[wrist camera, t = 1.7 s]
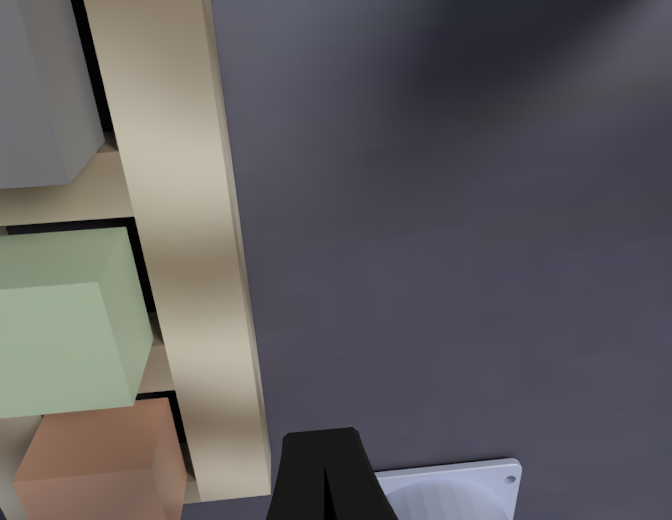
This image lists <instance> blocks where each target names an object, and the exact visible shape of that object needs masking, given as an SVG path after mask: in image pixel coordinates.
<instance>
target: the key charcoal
mask: <svg viewBox="0 0 672 520" xmlns="http://www.w3.org/2000/svg"><path fill="white" fill-rule="evenodd" d="M104 142H105V139H104V135H103V131H102V127H101V123H100V119H99V115H98V110H97V106H96V102H95V98H94V94H93V90H92V86H91V82H90V78H89V74H88V70H87V66H86V62H85V57H84V53H83V49H82V45H81V41H80V37H79V33H78V29H77V25H76V21H75V17H74V13H73V9H72V4H71V0H0V189H5V188H20V187H34V186H49V185H64V184H70V183H71V182H72V180H73V179H74V178H75V177H76V176H77V174H78V173H79V172H80V171H81V170H82V168H83V167H84V166H85V165H86V164H87V162H88V161H89V160H90V159H91V158H92V156H93V155H94V154H95V153H96V152H97V150H98V149H99V148H100V147H101V146H102V144H103V143H104Z"/></svg>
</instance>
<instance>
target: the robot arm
mask: <svg viewBox="0 0 672 520" xmlns="http://www.w3.org/2000/svg"><path fill="white" fill-rule="evenodd" d="M521 473H522V467H521V465H520V463H519V461H518V460H517V459H514V458H507V459H497V460H488V461H478V462H469V463H459V464H450V465H440V466H431V467H421V468H412V469H402V470H393V471H383V472H374V471H373V469H372V467H371V464H370V462H369V460H368V457H367V455H366V453H365V450H364V447H363V445H362V442H361V439H360V436H359V432H358V431H357V430H356V429H354V428H353V427H349V428H338V429H327V430H321V431H320V430H316V431H305V432H295V433H288V434H287V435H286V436H285V437H283V444H282V454H281V460H280V466H279V471H278V476H277V481H276V485H275V489H274V493H273V497H272V501H271V504H270V508H269V511H268V514H267V518H266V520H513V516H514V510H515V505H516V500H517V494H518V489H519V484H520V478H521Z"/></svg>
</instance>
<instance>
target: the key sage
mask: <svg viewBox="0 0 672 520" xmlns="http://www.w3.org/2000/svg"><path fill="white" fill-rule="evenodd" d="M152 342H153V335H152V331H151V327H150V323H149V319H148V314H147V310H146V306H145V302H144V298H143V294H142V290H141V286H140V282H139V278H138V274H137V270H136V266H135V261H134V257H133V253H132V249H131V245H130V241H129V237H128V233H127V229H126V227H116V228H102V229H89V230H75V231H62V232H48V233H34V234H21V235H7V236H0V419H1V418H12V417H22V416H33V415H44V414H54V413H65V412H75V411H86V410H96V409H107V408H118V407H128V406H134V403H135V399H136V396H137V393H138V389H139V386H140V383H141V379H142V376H143V372H144V369H145V366H146V362H147V359H148V356H149V352H150V349H151V346H152Z"/></svg>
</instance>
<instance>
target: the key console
mask: <svg viewBox="0 0 672 520" xmlns="http://www.w3.org/2000/svg"><path fill="white" fill-rule="evenodd" d="M84 3H85V7H86V12H87V16H88V20H89V25H90V29H91V33H92V37H93V42H94V46H95V50H96V54H97V59H98V63H99V67H100V71H101V76H102V80H103V84H104V88H105V93H106V97H107V101H108V106H109V110H110V114H111V118H112V123H113V127H114V131H107V132H103V135H104V139H105V142H104V143H103V144H102V146H101V147H100V148H99V149H98V150H97V152H96V153H95V154H94V155H93V156H92V158H91V159H90V160H89V161H88V162H87V164H86V165H85V166H84V167H83V168H82V170H81V171H80V172H79V173H78V174H77V176H76V177H75V178H74V179H73V180H72V182H71V183H70V184H64V185H49V186H34V187H20V188H5V189H0V236H7V235H9V234H8V232H7V229H6V226H9V225H23V224H37V223H51V222H65V221H78V220H92V219H106V218H120V217H134V216H135V221H136V225H137V229H138V234H139V238H140V242H141V246H142V251H143V255H144V259H145V263H146V268H147V272H148V276H149V280H150V285H151V289H152V293H153V297H154V302H155V306H156V310H157V312H149V313H147V314H148V319H149V323H150V327H151V331H152V335H153V342H152V346H151V349H150V352H149V356H148V359H147V362H146V366H145V369H144V372H143V376H142V379H141V383H140V386H139V389H138V393H148V392H158V391H169V390H175V391H176V396H177V400H178V404H179V408H180V413H181V417H182V421H183V425H184V430H185V434H186V438H187V442H185V443H179V445H180V449H181V453H182V457H183V461H184V465H185V469H186V474H187V482H186V488H185V494H184V500H183V504H187V503H196V502H206V501H215V500H224V499H234V498H243V497H253V496H262V495H271V451H270V444H269V436H268V429H267V421H266V414H265V406H264V399H263V391H262V384H261V376H260V369H259V361H258V354H257V346H256V339H255V331H254V324H253V316H252V309H251V301H250V294H249V286H248V278H247V271H246V263H245V256H244V248H243V241H242V233H241V226H240V218H239V211H238V203H237V196H236V188H235V181H234V173H233V166H232V158H231V151H230V143H229V136H228V128H227V121H226V113H225V106H224V98H223V90H222V83H221V75H220V68H219V60H218V53H217V45H216V38H215V30H214V23H213V15H212V8H211V0H84ZM44 415H45V414H44ZM44 415H33V416H22V417H12V418H1V419H0V507H1V509H2V511H3V513H4V515H5V517H6V519H7V520H29V518H28V516H27V514H26V512H25V510H24V507H23V505H22V503H21V501H20V499H19V497H18V495H17V493H16V491H15V489H14V486H13V484H12V481H13V479H14V477H15V475H16V473H17V471H18V469H19V467H20V465H21V463H22V460H23V458H24V456H25V454H26V452H27V450H28V448H29V446H30V444H31V442H32V440H33V438H34V436H35V433H36V431H37V429H38V427H39V425H40V423H41V421H42V419H43V417H44Z"/></svg>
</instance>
